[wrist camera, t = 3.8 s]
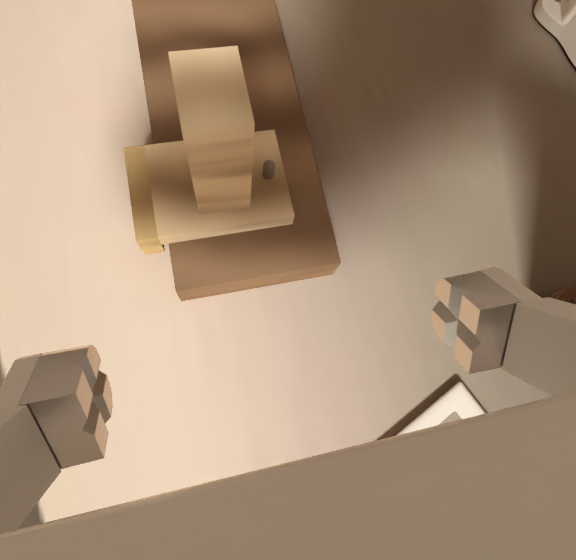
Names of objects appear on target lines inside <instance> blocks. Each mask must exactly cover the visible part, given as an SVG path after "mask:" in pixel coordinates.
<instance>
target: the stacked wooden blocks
mask: <svg viewBox="0 0 576 560" xmlns="http://www.w3.org/2000/svg"><path fill="white" fill-rule="evenodd" d="M168 54H169V60H170V66H171V72H172V78H173V83H174V89H175V95H176V101H177V107H178V113H179V118H180V124H181V130H182V135H183V141H175V142H167V143H158V144H150V145H142V146H134V147H125V148H124V153H125V161H126V168H127V176H128V184H129V191H130V199H131V206H132V214H133V221H134V229H135V236H136V241H137V243H138V244H139V246H140V248H141V249H142V251H143V252H144V254H145V255H146V254H152V253H159V252H165V250H164V244H169V243H176V242H182V241H188V240H195V239H201V238H207V237H214V236H220V235H226V234H233V233H239V232H245V231H252V230H258V229H264V228H271V227H277V226H283V225H290V224H293V220H294V217H295V215H294V211H293V207H292V202H291V198H290V194H289V190H288V185H287V181H286V177H285V172H284V168H283V164H282V160H281V155H280V151H279V147H278V142H277V138H276V134H275V130H266V131H258V132H254V129H255V123H254V118H253V113H252V109H251V104H250V100H249V95H248V91H247V86H246V82H245V77H244V73H243V68H242V64H241V59H240V55H239V50H238V46H228V47H217V48H205V49H194V50H183V51H171V52H168Z"/></svg>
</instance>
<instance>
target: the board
mask: <svg viewBox="0 0 576 560" xmlns="http://www.w3.org/2000/svg"><path fill="white" fill-rule="evenodd" d="M132 6H133V12H134V19H135V26H136V32H137V39H138V45H139V52H140V58H141V65H142V72H143V78H144V85H145V91H146V98H147V104H148V111H149V117H150V124H151V131H152V137H153V144H158V143H167V142H175V141H183V135H182V130H181V124H180V118H179V113H178V107H177V101H176V95H175V89H174V83H173V78H172V72H171V66H170V60H169V54H168V52H171V51H183V50H194V49H205V48H217V47H228V46H238V50H239V55H240V59H241V64H242V68H243V73H244V77H245V82H246V86H247V91H248V95H249V100H250V104H251V109H252V113H253V118H254V123H255V129H254V132H258V131H266V130H275V134H276V138H277V142H278V147H279V151H280V155H281V160H282V164H283V168H284V172H285V177H286V181H287V185H288V190H289V194H290V198H291V202H292V207H293V211H294V215H295V217H294V220H293V224H290V225H283V226H277V227H271V228H264V229H258V230H252V231H245V232H239V233H233V234H226V235H220V236H214V237H207V238H201V239H195V240H188V241H182V242H176V243H169V249H170V255H171V262H172V268H173V275H174V282H175V288H176V292H177V294H178V296H179V298H180V299H181V301H185V300H190V299H196V298H202V297H207V296H213V295H218V294H224V293H230V292H235V291H241V290H246V289H252V288H258V287H263V286H269V285H274V284H280V283H286V282H291V281H297V280H302V279H308V278H313V277H319V276H325V275H330V274H333V273H334V271H335V270H336V269H337V267H338V266H339V264H340V263H341V261H340V257H339V253H338V249H337V245H336V241H335V237H334V233H333V230H332V226H331V222H330V218H329V214H328V210H327V206H326V202H325V198H324V194H323V190H322V186H321V182H320V179H319V175H318V171H317V167H316V163H315V159H314V155H313V151H312V147H311V143H310V139H309V135H308V132H307V128H306V124H305V120H304V116H303V112H302V108H301V104H300V100H299V96H298V92H297V88H296V84H295V81H294V77H293V73H292V69H291V65H290V61H289V57H288V53H287V49H286V45H285V41H284V37H283V33H282V30H281V26H280V22H279V18H278V14H277V10H276V6H275V2H274V0H132Z"/></svg>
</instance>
